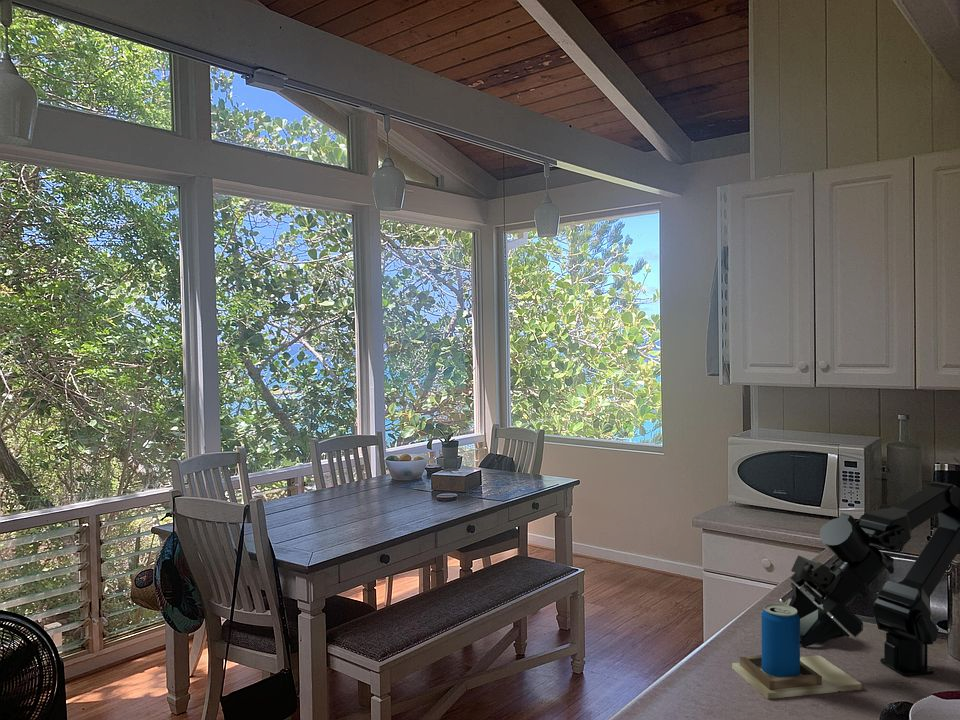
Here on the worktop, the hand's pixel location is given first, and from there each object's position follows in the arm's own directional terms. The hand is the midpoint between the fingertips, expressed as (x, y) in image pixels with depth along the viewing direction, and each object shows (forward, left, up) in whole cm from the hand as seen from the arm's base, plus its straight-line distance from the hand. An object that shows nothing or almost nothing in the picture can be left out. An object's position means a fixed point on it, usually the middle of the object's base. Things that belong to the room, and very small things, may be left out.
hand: (791, 634), depth 133 cm
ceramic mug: (-14, -16, -9) cm, 23 cm away
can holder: (-1, 0, -8) cm, 8 cm away
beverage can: (+2, 0, -8) cm, 8 cm away
